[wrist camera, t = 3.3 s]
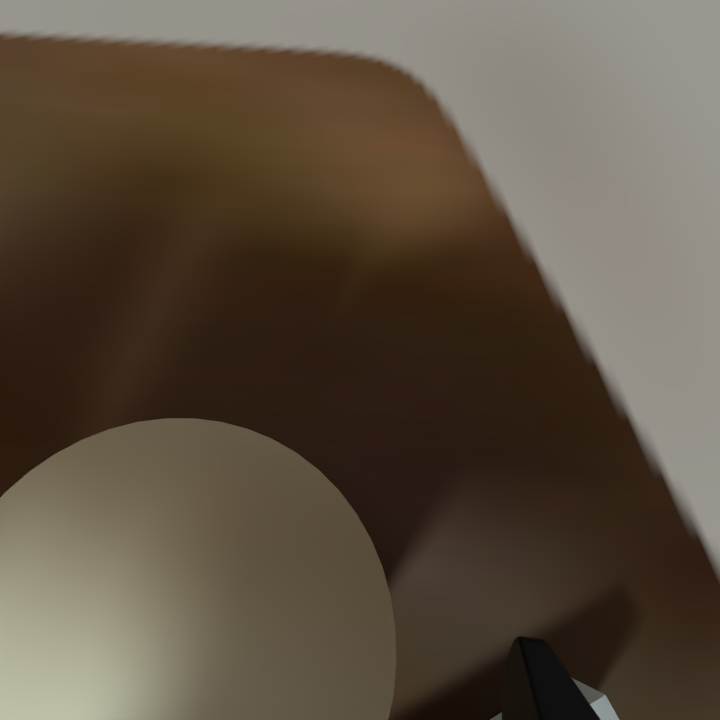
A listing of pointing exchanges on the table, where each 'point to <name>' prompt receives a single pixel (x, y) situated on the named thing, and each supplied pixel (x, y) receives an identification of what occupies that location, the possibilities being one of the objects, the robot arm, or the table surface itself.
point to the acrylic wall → (591, 703)
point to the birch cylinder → (189, 584)
